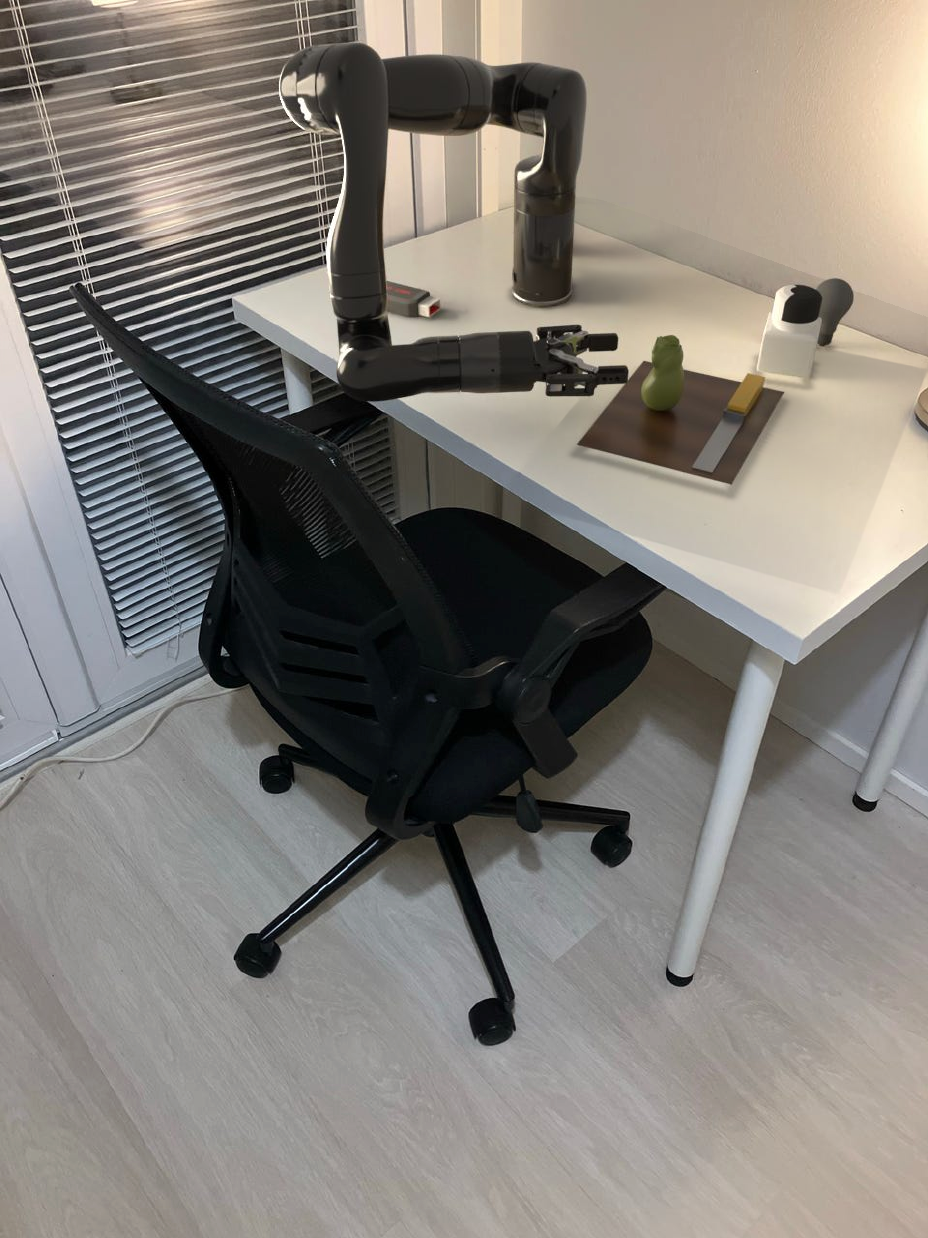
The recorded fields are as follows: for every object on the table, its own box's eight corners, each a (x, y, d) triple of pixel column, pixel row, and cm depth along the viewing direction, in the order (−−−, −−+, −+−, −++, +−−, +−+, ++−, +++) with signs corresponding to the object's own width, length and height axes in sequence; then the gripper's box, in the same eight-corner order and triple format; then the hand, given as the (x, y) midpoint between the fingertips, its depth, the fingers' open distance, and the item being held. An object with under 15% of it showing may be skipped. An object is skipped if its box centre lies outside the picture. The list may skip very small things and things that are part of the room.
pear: (676, 421, 136) (685, 350, 129) (635, 415, 137) (642, 344, 131) (683, 400, 140) (693, 330, 133) (644, 394, 141) (651, 325, 134)
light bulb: (801, 335, 156) (815, 270, 149) (840, 338, 155) (856, 272, 148) (803, 352, 152) (817, 287, 145) (842, 356, 151) (859, 289, 144)
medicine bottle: (812, 363, 149) (830, 282, 141) (807, 387, 144) (825, 305, 136) (761, 356, 151) (776, 276, 143) (754, 380, 146) (769, 298, 138)
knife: (744, 384, 143) (746, 372, 141) (764, 389, 142) (766, 377, 140) (690, 468, 128) (692, 456, 127) (712, 474, 127) (714, 461, 126)
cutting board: (642, 369, 149) (643, 360, 148) (782, 401, 142) (784, 391, 141) (576, 454, 133) (576, 444, 132) (729, 494, 126) (731, 484, 125)
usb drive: (381, 291, 170) (379, 275, 168) (443, 308, 165) (443, 291, 163) (362, 304, 166) (360, 287, 164) (425, 321, 161) (424, 304, 160)
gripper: (499, 363, 125) (634, 357, 126) (491, 309, 136) (616, 304, 136) (499, 417, 130) (629, 412, 131) (491, 361, 141) (612, 357, 141)
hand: (622, 357), depth 133 cm, fingers open, 8 cm apart
